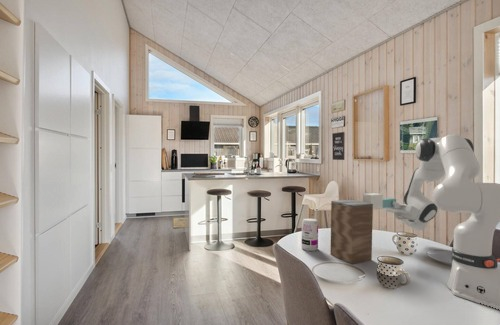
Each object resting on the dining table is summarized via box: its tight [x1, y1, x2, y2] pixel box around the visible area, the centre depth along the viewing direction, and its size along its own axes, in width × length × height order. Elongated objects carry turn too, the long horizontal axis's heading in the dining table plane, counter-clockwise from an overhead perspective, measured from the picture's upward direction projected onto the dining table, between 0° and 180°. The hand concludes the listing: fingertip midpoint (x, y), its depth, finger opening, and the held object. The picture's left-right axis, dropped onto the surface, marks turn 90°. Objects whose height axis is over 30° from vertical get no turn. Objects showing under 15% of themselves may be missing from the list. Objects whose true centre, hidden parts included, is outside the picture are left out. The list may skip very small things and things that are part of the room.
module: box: [362, 192, 397, 211], centre depth 148 cm, size 5×19×7 cm, turn 116°
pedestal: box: [329, 199, 374, 265], centre depth 140 cm, size 14×12×26 cm
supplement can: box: [301, 217, 319, 252], centre depth 152 cm, size 8×8×15 cm
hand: (388, 201), depth 151 cm, fingers closed on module, 3 cm apart
